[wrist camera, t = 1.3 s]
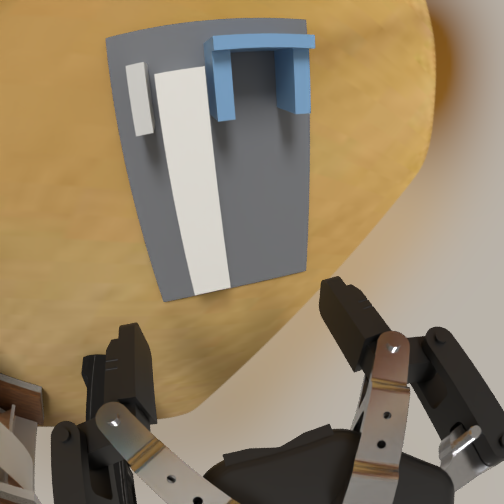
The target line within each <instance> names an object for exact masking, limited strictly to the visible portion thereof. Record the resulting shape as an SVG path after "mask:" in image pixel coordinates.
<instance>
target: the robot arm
mask: <svg viewBox="0 0 504 504" xmlns="http://www.w3.org/2000/svg"><path fill="white" fill-rule="evenodd" d="M319 310H320V314H321V316H322V318H323V320H324V322H325V324H326V325H327V327H328V329H329V330H330V332H331V334H332V335H333V337H334V339H335V340H336V342H337V344H338V346H339V347H340V349H341V351H342V352H343V354H344V356H345V358H346V359H347V361H348V363H349V365H350V366H351V368H352V370H353V371H354V372H357V371H360V370H363V372H364V373H365V375H364V379H363V384H362V389H361V393H360V398H359V402H358V407H357V410H356V414H355V417H354V420H353V423H352V426H351V429H350V430H348V429H331V426H330V424H328V425H325V426H322V427H319V428H316V429H314V430H311V431H308V432H305V433H303V434H301V435H300V436H298V437H296V438H295V439H293V440H292V441H290V442H288V443H286V444H285V445H283V446H281V447H277V448H253V449H252V448H251V449H245V450H241V451H237V452H232V453H228V454H223V457H224V460H223V461H221V462H219V463H218V464H216V465H214V466H213V467H212V468H211V469H209V470H208V471H207V472H206V473H205V475H204V476H203V477H202V476H201V475H199V474H198V473H197V472H196V471H195V470H193V469H192V468H191V467H190V466H188V465H187V464H186V463H185V462H184V461H182V460H181V459H180V458H179V457H178V456H177V455H175V454H174V453H173V452H172V451H171V450H170V449H169V448H167V447H166V446H165V445H164V444H163V443H162V442H161V441H160V440H158V439H157V438H156V437H155V436H154V435H153V434H152V433H151V432H150V424H157V416H156V407H155V396H154V384H153V370H152V356H151V351H150V348H149V345H148V343H147V341H146V339H145V337H144V335H143V333H142V331H141V329H140V327H139V325H138V323H131V324H126V325H121V326H120V327H119V338H118V339H113V340H111V342H110V344H109V346H108V348H107V350H106V363H105V370H106V371H105V381H104V403H103V406H101V407H100V409H99V410H98V412H97V414H96V417H94V418H93V419H91V420H88V421H86V422H84V423H81V424H79V425H77V426H76V425H75V424H74V423H72V422H69V421H63V422H60V423H58V424H57V425H56V426H55V427H54V429H53V431H52V434H51V468H52V485H53V496H54V504H120V503H119V498H118V492H117V487H116V480H115V474H114V467H113V464H114V463H116V462H119V461H121V460H124V459H125V460H126V461H127V462H128V463H129V464H130V467H131V469H132V470H133V471H134V472H135V473H136V474H137V475H138V476H139V477H140V478H141V479H142V480H143V481H144V482H145V483H146V484H147V485H148V486H149V487H150V488H151V489H152V490H153V491H154V492H155V493H156V494H157V495H158V496H159V497H160V498H162V499H163V500H164V501H165V502H166V503H167V504H454V492H455V491H457V490H458V489H460V488H461V487H463V486H464V485H466V484H467V483H469V482H470V481H471V480H473V479H474V478H475V477H477V476H478V475H480V474H482V473H484V472H485V471H487V470H489V469H491V468H492V467H494V466H496V465H497V464H499V463H500V462H502V461H504V411H503V409H502V408H501V406H500V404H499V403H498V401H497V400H496V398H495V396H494V395H493V393H492V392H491V390H490V389H489V387H488V385H487V384H486V382H485V381H484V379H483V378H482V376H481V375H480V373H479V372H478V370H477V369H476V368H475V366H474V364H473V363H472V362H471V360H470V359H469V357H468V356H467V354H466V353H465V352H464V350H463V349H462V348H461V346H460V345H459V343H458V342H457V341H456V339H455V338H454V337H453V335H452V334H451V333H450V332H449V331H448V330H447V329H445V328H442V327H433V328H431V329H429V330H428V332H427V333H426V336H422V337H412V338H406V337H405V336H404V335H403V334H402V333H400V332H397V331H392V330H391V329H390V328H389V327H388V325H387V324H386V323H385V321H384V320H383V319H382V317H381V316H380V315H379V313H378V312H377V311H376V309H375V308H374V307H372V304H371V303H370V302H369V300H367V298H366V296H365V295H364V294H363V293H362V291H361V290H359V289H358V288H356V287H355V286H353V285H347V286H346V284H345V283H344V282H343V281H342V279H341V278H340V277H339V276H336V277H332V278H329V279H325V280H322V281H321V288H320V299H319ZM408 383H410V384H411V386H412V387H413V389H414V391H415V393H416V394H417V396H418V398H419V400H420V401H421V403H422V405H423V407H424V409H425V410H426V412H427V414H428V416H429V418H430V420H431V422H432V423H433V425H434V427H435V429H436V431H437V433H438V435H439V437H440V439H441V443H440V446H439V459H440V460H441V466H440V467H438V466H435V465H433V464H430V463H428V462H425V461H423V460H420V459H418V458H415V457H413V456H411V455H408V454H406V453H403V452H402V447H403V441H404V435H405V429H406V422H407V416H408V408H409V400H410V388H409V387H407V384H408Z"/></svg>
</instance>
